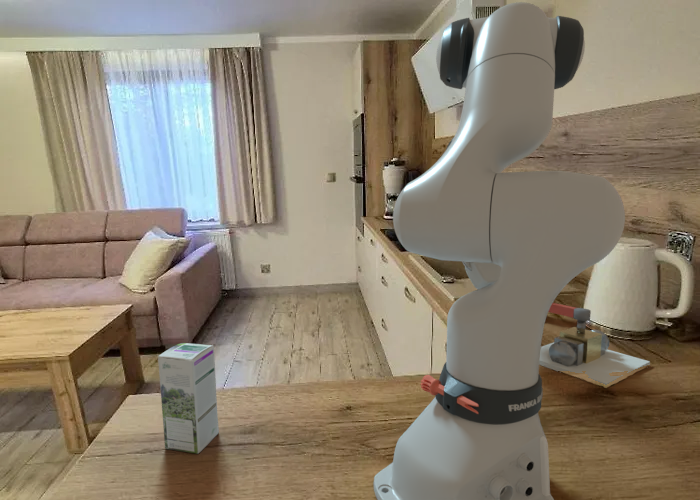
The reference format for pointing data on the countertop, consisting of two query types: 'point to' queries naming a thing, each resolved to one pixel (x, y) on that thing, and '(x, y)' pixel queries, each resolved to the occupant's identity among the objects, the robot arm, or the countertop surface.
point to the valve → (578, 345)
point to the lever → (570, 311)
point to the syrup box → (188, 396)
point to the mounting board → (596, 365)
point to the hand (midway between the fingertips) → (520, 298)
